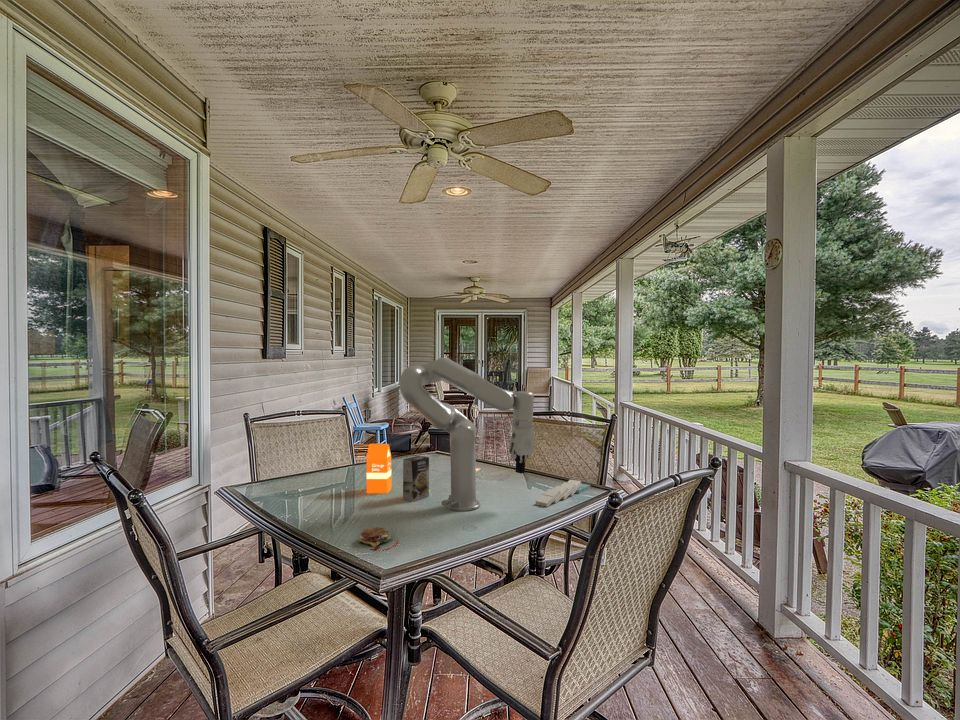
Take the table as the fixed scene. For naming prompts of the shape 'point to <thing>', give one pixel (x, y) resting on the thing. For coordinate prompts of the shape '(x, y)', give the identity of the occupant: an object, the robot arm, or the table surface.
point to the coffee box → (415, 478)
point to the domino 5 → (582, 488)
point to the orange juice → (378, 468)
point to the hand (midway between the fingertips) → (520, 472)
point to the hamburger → (375, 537)
